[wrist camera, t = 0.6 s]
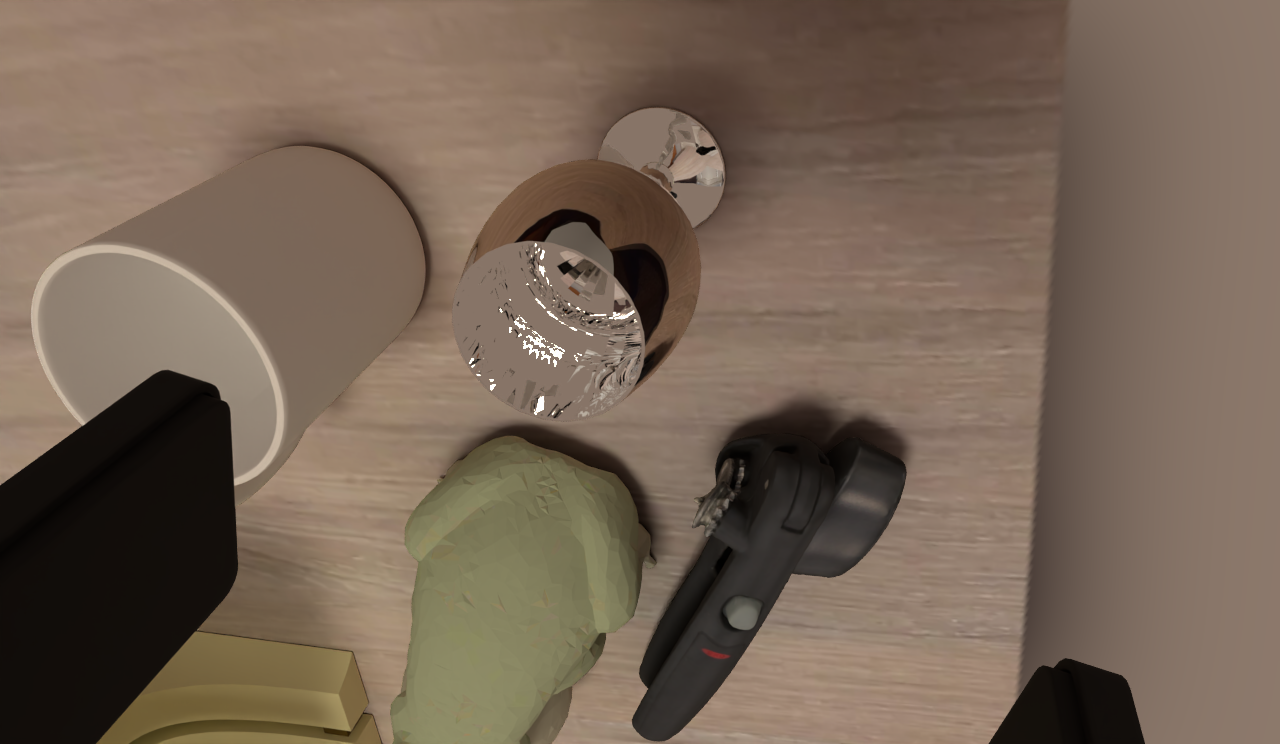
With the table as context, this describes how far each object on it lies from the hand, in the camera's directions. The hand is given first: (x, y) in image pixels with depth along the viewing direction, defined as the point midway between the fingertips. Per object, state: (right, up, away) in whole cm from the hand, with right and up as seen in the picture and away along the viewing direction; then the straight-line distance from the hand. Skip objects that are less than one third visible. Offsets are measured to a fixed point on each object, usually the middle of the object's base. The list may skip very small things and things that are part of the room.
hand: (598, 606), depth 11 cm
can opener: (+5, -5, +28) cm, 29 cm away
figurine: (-4, -6, +32) cm, 33 cm away
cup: (-12, +6, +27) cm, 30 cm away
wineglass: (+1, +9, +21) cm, 23 cm away
